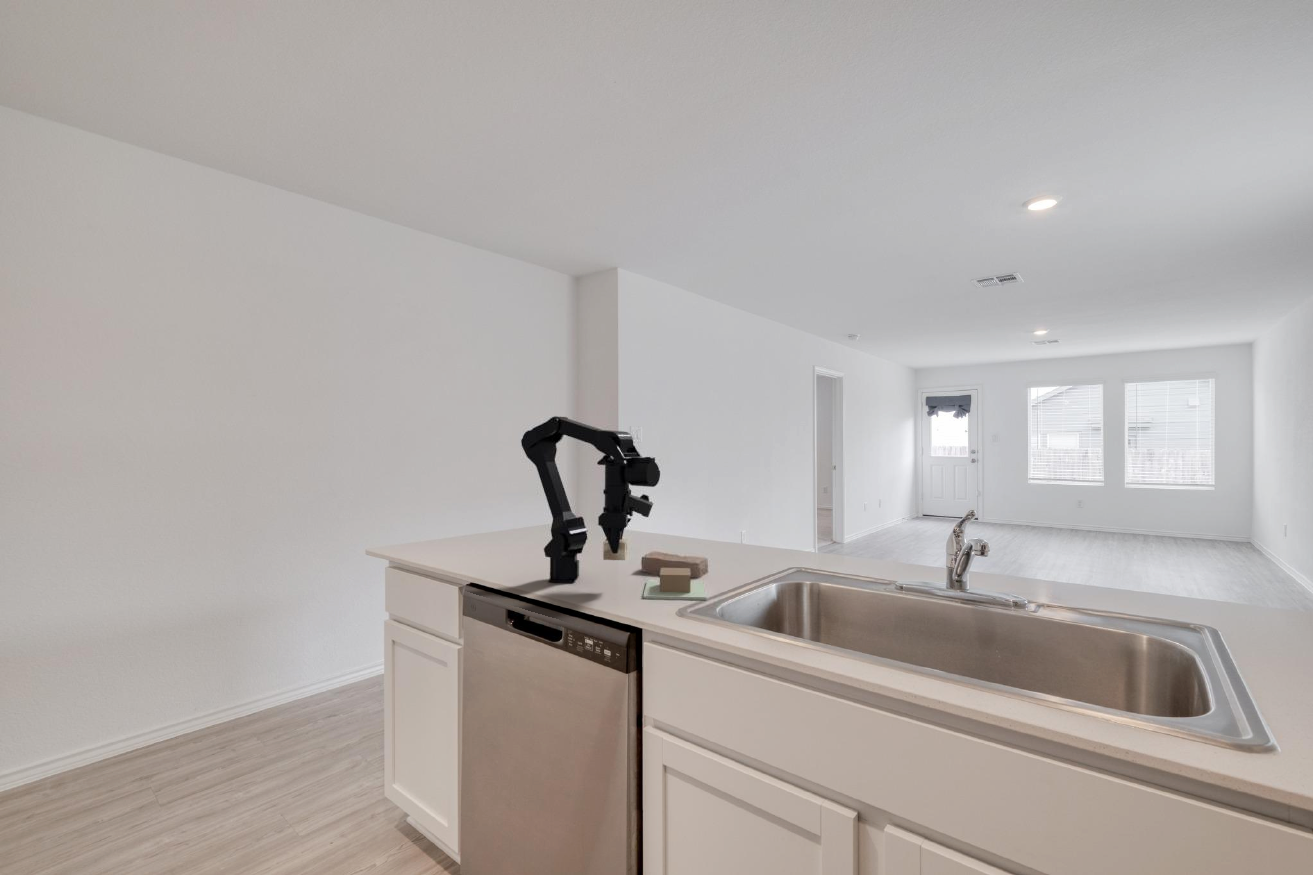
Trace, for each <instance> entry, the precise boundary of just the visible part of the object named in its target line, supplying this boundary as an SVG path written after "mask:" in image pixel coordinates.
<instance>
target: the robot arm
mask: <svg viewBox="0 0 1313 875" xmlns="http://www.w3.org/2000/svg"><path fill="white" fill-rule="evenodd" d="M564 436H567V437H569V438H573V439H575V440H579V441H581V442H584V443H588V444H590V445H591V446H593V447H594V448H595V449H596V451H598V452H600V453H602V454H604V455H603V456H602V457H601V458H600V459H599V460H598V461H597V462H596V463H597V464H596V465H599V466H604V489H603V495H604V506H603V508H602V509H603V510H602V511H603V512H602V513H601V514H599V516H598V519H597V520H598V521H597V524H598V526H600V527H601V529H602V531H603V533H604V536H605V537H606V538H605V539H607V541H608V543H609V545H610V548H611V550H612V553H614V554H617V553H618V548H619V543H620V539H623V536H624V532H625V529H626V528H627V527H628V525H629V523H630V522H631V520H632V518H631V517H633V516H634V513H636V514H639V515H641V516H642V517H645V518H649V516H650V513H651V511H652V508H653V506H654V502H652V501H650V497H649V495H648V494H644V493H643V494H642V495H641V496H637V495H634V494H632V489H631V488H630V486H635V487H652V488H654V487H656V486H657V485H658V483H659V482H660V478H661V470H660V469H659V468H660V467H659V465H658V463H657V462H656V457H655V456H645V457H643V455H641V452H640V451H639V450H638V448H637V446H636V444H635V442H634V439H633V437H632V434H631V433H630V432H628V431H622V430H621V431H620V430H610V429H602V428H598V427H596V426H595V427H594V426H592V425H589V424H586V423H582V422H579V421H577V420H572V419H570V418H568V417H567V416H557V415H555V416H552V417H550V418H549V419H548V420H547V421H545V422H543V423H541V424H539V425H537V426H535V427H533V428H532V429H530V430H527V431H525V432H524V434H523V435H522V439H520V443H521V447H522V450H523V452H524V454H525V455H526V458H528V459H529V460H530V462H531V463H533V465H534V466H535V467H536V470H537V473H538V477H539V479H540V482H541V487H542V488H543V491H544V495H545V497H546V501H547V505H548V508H549V510H550V514H551V518H552V523H551V527H550V534H551V539H550V540H549V542H548V543H547V544H546V545H545V546H544V547H543V552H544V556H545V557H546V558H549V578H548V580H547V582H548V583H568V584H569V583H571V584H572V583H576V581H577V579H578V578H579V577H580V560H579V559H578V555H579V554H582V553H583V551H584V550H583V549H584V547H585V545H586V542H587V541H588V533H587V532H588V531H589V530H588V528H587V527H586V525H585V520H584V519H585V518H583V516H576V515H575V513H573V511H572V507H571V506H570V503H569V499H568V496H567V493H566V491H565V487H564V483H563V481H562V479H561V475H560V471H559V469H558V466H557V463H556V455H557V452H558V448H557V444H558V443H559V442H561V441H562V440H563V437H564ZM628 516H629V517H628Z"/></svg>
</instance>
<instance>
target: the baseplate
mask: <svg viewBox="0 0 1313 875" xmlns="http://www.w3.org/2000/svg"><path fill="white" fill-rule="evenodd" d="M691 578H692V577H691V574H690V568H661V571H660V574H659V580H651V579H650V580H646V584H645V588H644V590H643V591H644V592H643V596H642V598H643V599H645V600H647V599H648V600H685V601H686V600H689V601H692V600H693V601H707V592H706V586H705V585H706V584H705V581H699V580H697V581H695V580H693V581H692V580H691Z"/></svg>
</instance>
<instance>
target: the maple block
mask: <svg viewBox="0 0 1313 875" xmlns="http://www.w3.org/2000/svg"><path fill="white" fill-rule="evenodd" d="M602 548H603V549H602V550H603V554H602V555H603V561H625V560H626V559H627V556H628V538H622V539H620V543H619V548H618V553H617V554H614V553H612V550H611V548H610V545H609V543H608V541H607V538H605V540H604V541H603V547H602Z"/></svg>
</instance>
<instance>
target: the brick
mask: <svg viewBox="0 0 1313 875" xmlns="http://www.w3.org/2000/svg"><path fill="white" fill-rule="evenodd" d="M640 561H641V563H640V564H641V565H640V566H641V571H642V572H644V573H649V574H655V575H660V571H661V568H690V574H691V578H694V579H695V578H696V579H701V578H703V576H705V575H707V574H708V573H709V564H708V562H709V560H708V557H703V556H702V557H701V556H693V555H692V556H690V555H687V556H686V555H684V556H681V555H679V554H675V553H674V554H673V553H667V552H661V551H653V550H652V551H650V552H648V553H646V554H645V555H644V556H642V557H641V560H640Z"/></svg>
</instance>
